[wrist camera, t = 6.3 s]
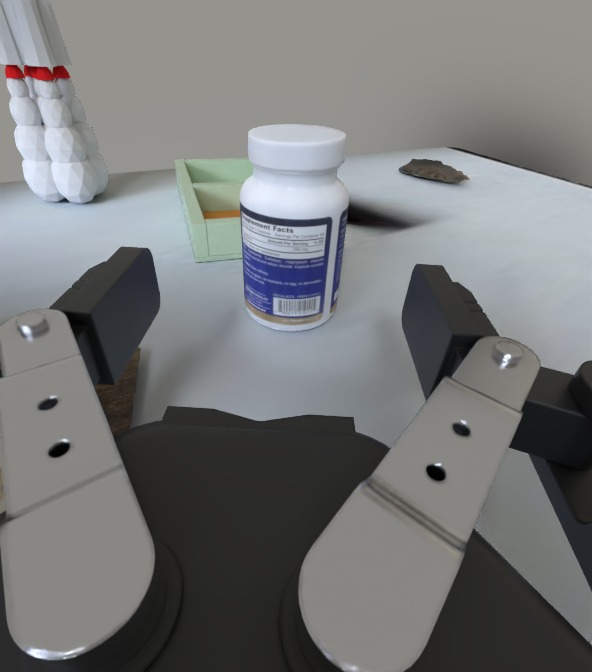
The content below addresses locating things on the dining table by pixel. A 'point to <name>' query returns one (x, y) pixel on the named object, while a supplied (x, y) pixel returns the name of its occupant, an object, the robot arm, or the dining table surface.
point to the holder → (213, 204)
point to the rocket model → (47, 106)
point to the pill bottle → (293, 225)
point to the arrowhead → (433, 171)
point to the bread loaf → (109, 406)
